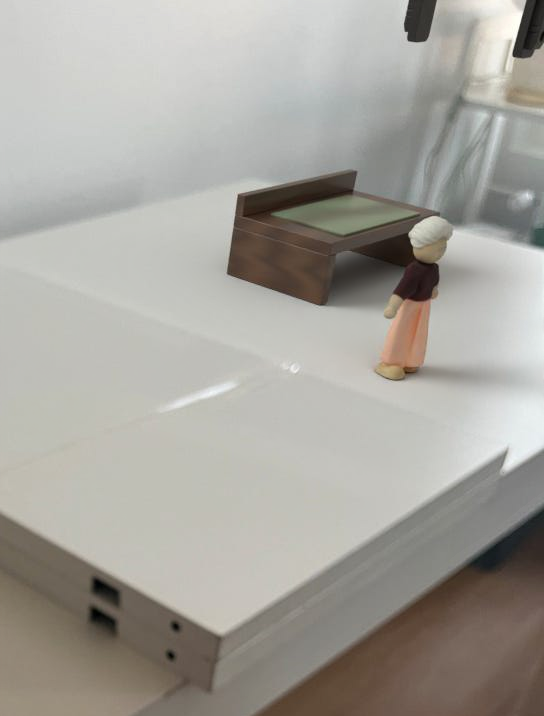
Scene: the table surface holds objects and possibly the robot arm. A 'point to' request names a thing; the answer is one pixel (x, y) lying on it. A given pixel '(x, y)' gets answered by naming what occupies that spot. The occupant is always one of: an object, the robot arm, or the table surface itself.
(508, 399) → the table surface
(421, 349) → the grandmother figurine
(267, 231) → the shelf
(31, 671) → the table surface
